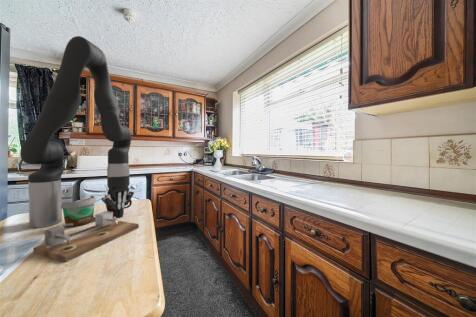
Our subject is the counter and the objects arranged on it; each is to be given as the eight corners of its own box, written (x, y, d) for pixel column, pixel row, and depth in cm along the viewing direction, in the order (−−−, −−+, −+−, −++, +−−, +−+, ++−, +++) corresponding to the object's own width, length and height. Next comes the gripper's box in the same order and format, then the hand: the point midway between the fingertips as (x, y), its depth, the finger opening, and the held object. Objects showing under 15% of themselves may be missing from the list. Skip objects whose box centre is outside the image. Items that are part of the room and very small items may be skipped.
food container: (74, 230, 70) (73, 203, 70) (61, 228, 72) (60, 202, 71) (104, 219, 82) (103, 196, 82) (92, 217, 84) (91, 195, 83)
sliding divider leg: (95, 225, 69) (95, 214, 69) (106, 221, 73) (105, 210, 73) (112, 228, 67) (111, 216, 67) (122, 224, 71) (122, 213, 70)
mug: (129, 210, 95) (129, 190, 95) (133, 214, 89) (133, 193, 89) (103, 214, 88) (103, 193, 88) (106, 219, 82) (106, 196, 82)
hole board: (33, 252, 55) (32, 230, 55) (111, 223, 78) (111, 207, 77) (65, 262, 51) (65, 238, 50) (138, 227, 73) (138, 211, 73)
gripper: (125, 172, 83) (126, 211, 84) (94, 176, 71) (95, 222, 71) (139, 173, 81) (139, 213, 82) (109, 177, 68) (110, 224, 69)
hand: (119, 217), depth 76 cm, fingers closed
